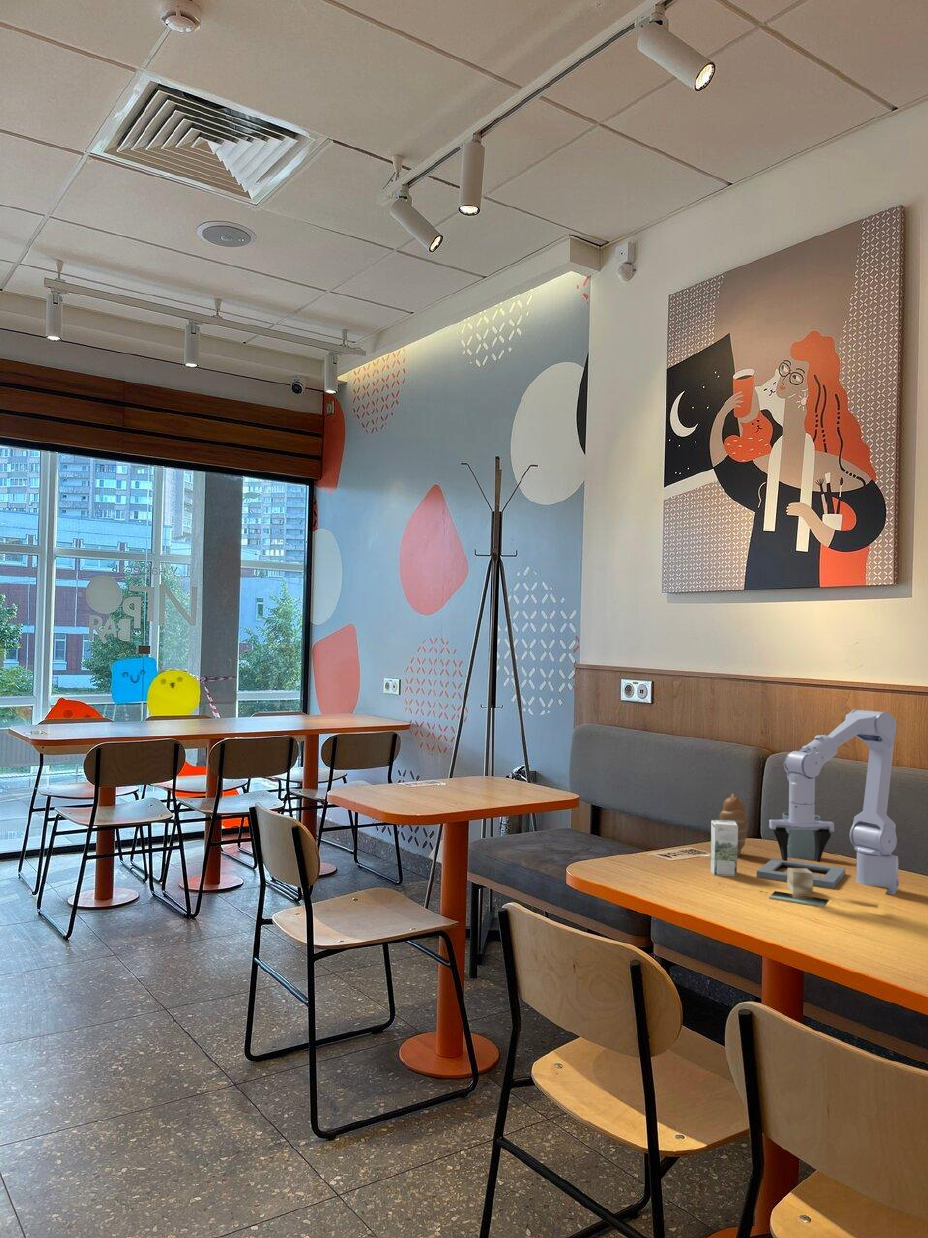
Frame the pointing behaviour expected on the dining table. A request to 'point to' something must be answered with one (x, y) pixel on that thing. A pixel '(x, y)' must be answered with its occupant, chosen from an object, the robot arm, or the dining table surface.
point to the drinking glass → (800, 842)
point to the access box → (826, 882)
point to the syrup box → (724, 848)
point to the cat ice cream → (736, 818)
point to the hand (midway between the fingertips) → (801, 860)
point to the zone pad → (788, 898)
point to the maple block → (800, 882)
